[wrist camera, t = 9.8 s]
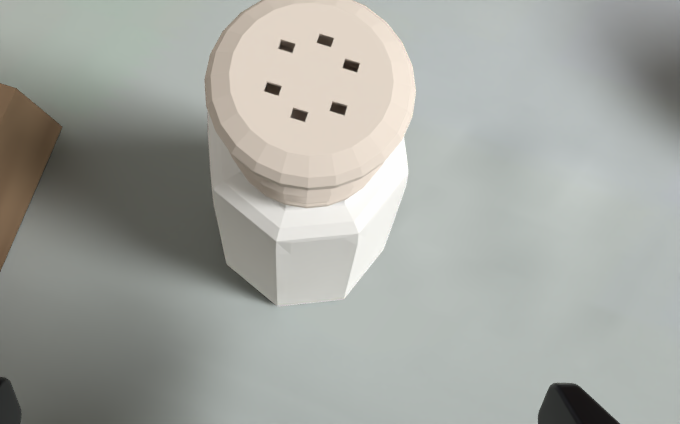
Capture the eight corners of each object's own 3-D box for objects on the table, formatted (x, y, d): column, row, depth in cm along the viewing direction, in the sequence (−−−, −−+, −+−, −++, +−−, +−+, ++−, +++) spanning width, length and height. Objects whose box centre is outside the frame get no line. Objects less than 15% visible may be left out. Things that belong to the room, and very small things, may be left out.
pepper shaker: (249, 125, 18) (181, -154, 8) (404, 172, 18) (554, -38, 8) (194, 281, 17) (24, 212, 6) (360, 331, 17) (463, 345, 7)
